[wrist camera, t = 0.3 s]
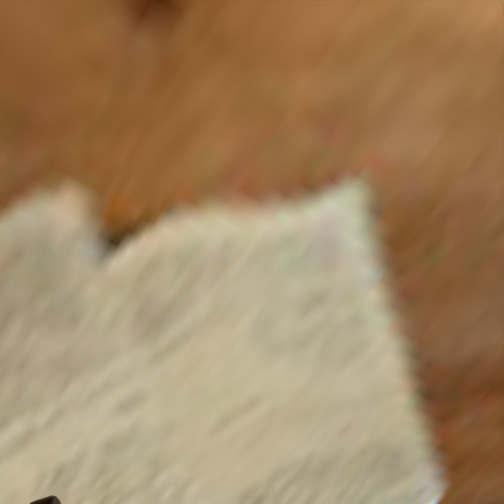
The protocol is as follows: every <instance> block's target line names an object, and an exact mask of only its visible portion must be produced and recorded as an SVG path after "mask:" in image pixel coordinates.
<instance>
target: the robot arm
mask: <svg viewBox="0 0 504 504" xmlns="http://www.w3.org/2000/svg"><path fill="white" fill-rule="evenodd" d="M30 504H61V503H60V501H59V499H58V498H57V497H56V496H49V497H46V498H42V499H39V500H36V501H34V502H31V503H30Z"/></svg>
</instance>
